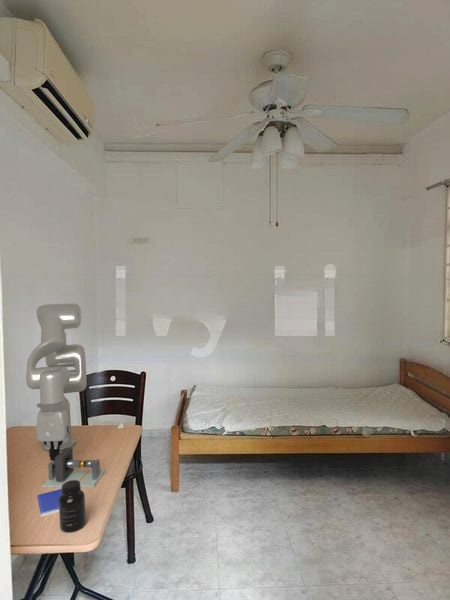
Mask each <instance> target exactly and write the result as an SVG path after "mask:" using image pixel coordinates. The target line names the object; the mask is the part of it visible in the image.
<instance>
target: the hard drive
mask: <svg viewBox="0 0 450 600" xmlns="http://www.w3.org/2000/svg"><path fill="white" fill-rule="evenodd" d="M61 494H62V488H59V489H56V490H53V491H52V490H50V491H47V492H43V493H40V494H37V495H36V498H37V503H38V509H39V515H40V517H41V518H42V517H45V516H49V515H52V514H55V513H59V497H60V495H61Z"/></svg>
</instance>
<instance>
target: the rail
mask: <svg viewBox="0 0 450 600" xmlns="http://www.w3.org/2000/svg"><path fill="white" fill-rule="evenodd" d="M64 461H65V468H73V469H90V468H91V470H92V480H96V479H97V478H98V477H99V475H100V470H101V464H100V463H101V462H100V459H98V458H97V459H73V460H64ZM47 465H48V467H47V469H48V479H49V480H53V479H54V478H55V477H56V468H55V461H54V460H52V461H51V462H50V463H48V464H47Z"/></svg>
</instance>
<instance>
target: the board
mask: <svg viewBox="0 0 450 600" xmlns="http://www.w3.org/2000/svg"><path fill="white" fill-rule="evenodd" d="M105 473H106V470H105V469H100V475H99V477H98V478H97V479H96V480H92V469H73V471H72V472H71V473H70V474H69V475H68V476H67V477H66V478H65V480H64V481H56V477H55V478H54V479H53V480H49V478H48V479H47V480H46V481H45V482H44V483H42V486H41V487H42V488H45V489H46V488H53V489H54V488H62V485H63V484H64V483H65V482H68V481H71V480H78V481H79V482H80V486H81V488H95V487H96V485H97V484H98V483H99V482H100V480H101V479H102V477H103V476H104V475H105Z"/></svg>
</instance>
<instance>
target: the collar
mask: <svg viewBox="0 0 450 600" xmlns="http://www.w3.org/2000/svg"><path fill="white" fill-rule="evenodd" d="M64 460H74V456H73V447H70V448H65V449H64V450H61V451H60V454H58V455H57V456H56V457H55V468H56V481H64V480H65V478H66V477H67V476H68V475H69V474H70V473H71V472H72V471H73V470H74V468H65V461H64Z"/></svg>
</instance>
